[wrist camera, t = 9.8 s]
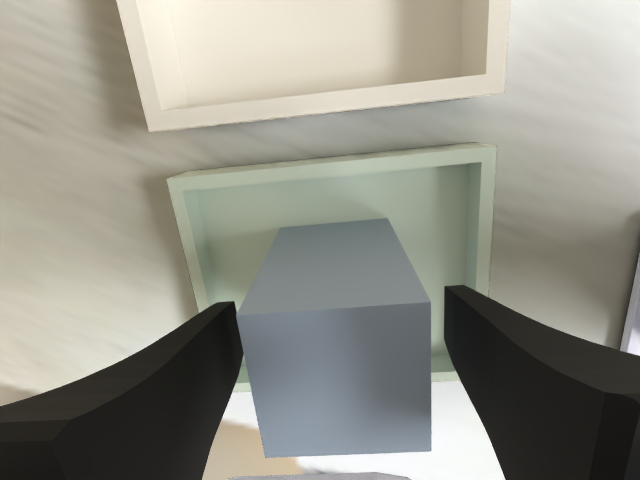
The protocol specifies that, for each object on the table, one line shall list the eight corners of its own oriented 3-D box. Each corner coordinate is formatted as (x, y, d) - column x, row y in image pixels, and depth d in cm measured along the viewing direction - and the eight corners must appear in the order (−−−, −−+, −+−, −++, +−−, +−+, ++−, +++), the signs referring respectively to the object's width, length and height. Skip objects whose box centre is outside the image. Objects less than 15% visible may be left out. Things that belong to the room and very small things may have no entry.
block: (387, 218, 15) (430, 302, 8) (391, 313, 16) (431, 451, 9) (280, 227, 15) (235, 315, 8) (293, 320, 16) (265, 457, 10)
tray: (475, 142, 14) (497, 146, 12) (467, 350, 17) (483, 379, 16) (187, 171, 15) (166, 179, 13) (230, 364, 18) (218, 393, 16)
